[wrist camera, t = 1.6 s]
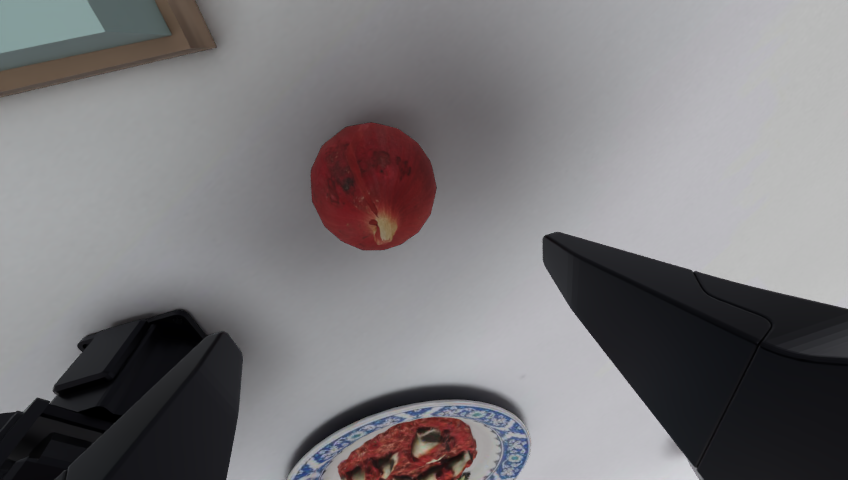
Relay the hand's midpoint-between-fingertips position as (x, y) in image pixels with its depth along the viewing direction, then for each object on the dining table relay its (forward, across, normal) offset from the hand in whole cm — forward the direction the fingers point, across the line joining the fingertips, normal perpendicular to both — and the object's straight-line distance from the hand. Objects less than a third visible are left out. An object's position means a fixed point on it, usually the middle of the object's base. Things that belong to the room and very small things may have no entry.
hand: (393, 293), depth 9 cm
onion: (+12, 0, 0) cm, 12 cm away
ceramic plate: (+12, +5, +33) cm, 35 cm away
